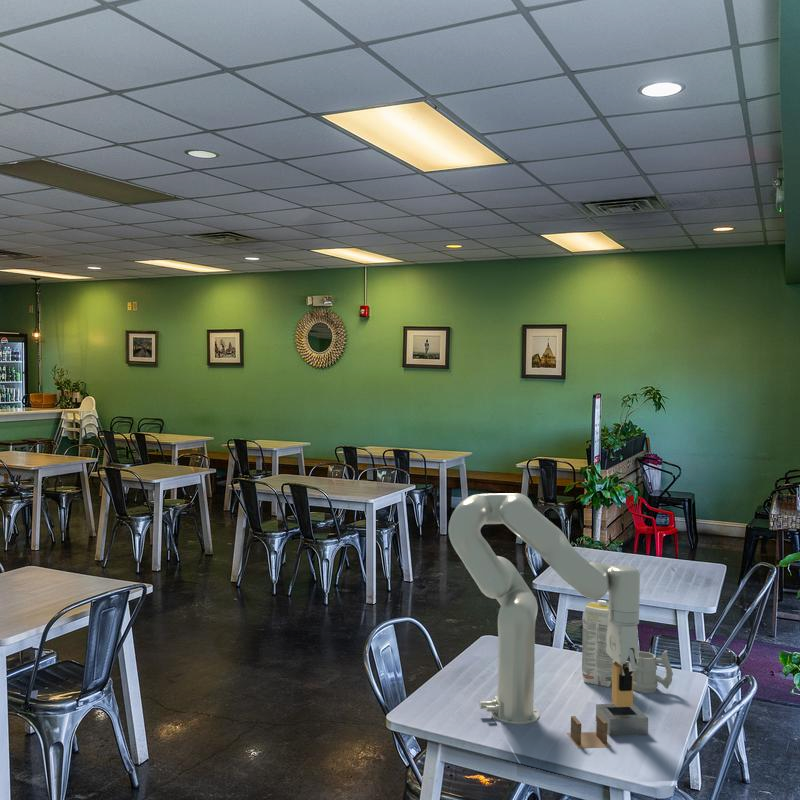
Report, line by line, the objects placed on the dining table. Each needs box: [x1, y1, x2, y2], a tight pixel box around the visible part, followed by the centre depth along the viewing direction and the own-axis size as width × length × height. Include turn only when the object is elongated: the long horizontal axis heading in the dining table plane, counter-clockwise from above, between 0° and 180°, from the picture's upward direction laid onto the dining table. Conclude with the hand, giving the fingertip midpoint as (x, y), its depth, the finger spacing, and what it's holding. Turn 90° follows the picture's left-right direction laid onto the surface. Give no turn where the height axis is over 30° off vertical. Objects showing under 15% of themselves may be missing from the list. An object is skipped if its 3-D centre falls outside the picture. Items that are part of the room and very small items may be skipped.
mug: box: [633, 650, 674, 694], centre depth 216 cm, size 8×12×12 cm, turn 67°
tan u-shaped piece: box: [566, 715, 612, 749], centre depth 182 cm, size 8×8×6 cm
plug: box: [611, 663, 634, 707], centre depth 189 cm, size 4×3×10 cm
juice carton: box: [581, 599, 613, 688], centre depth 222 cm, size 9×8×24 cm
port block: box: [595, 703, 649, 737], centre depth 189 cm, size 10×9×5 cm
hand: (622, 686), depth 189 cm, fingers closed on plug, 3 cm apart
